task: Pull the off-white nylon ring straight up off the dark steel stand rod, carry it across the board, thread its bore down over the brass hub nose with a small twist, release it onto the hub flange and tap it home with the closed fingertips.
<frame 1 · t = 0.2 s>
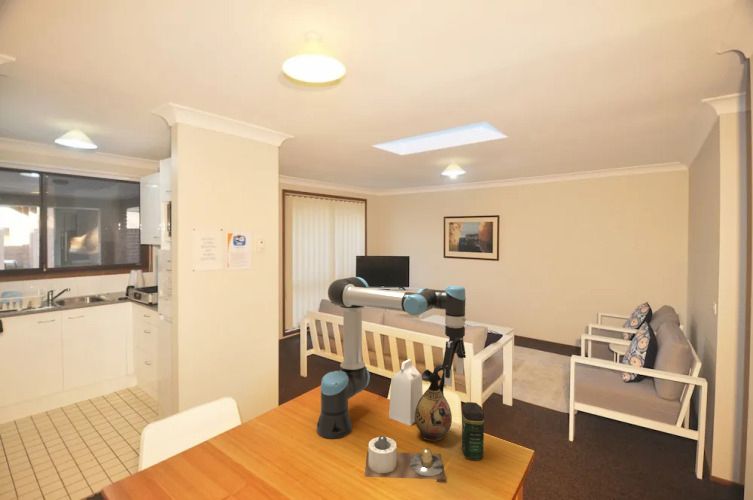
hand: (454, 379, 134), 28 cm above the table, fingers open, 13 cm apart
ceramic jug: (434, 435, 145), on the table
board: (404, 467, 124), on the table
hub: (426, 468, 124), resting on board
ring: (382, 463, 124), point 1 cm above the table, touching board
stand rod: (382, 466, 124), resting on board
coffee jar: (472, 453, 133), on the table
milk: (406, 416, 160), on the table
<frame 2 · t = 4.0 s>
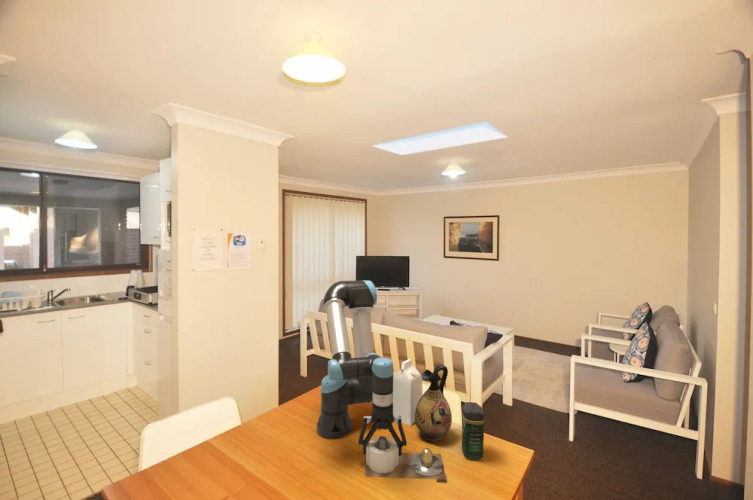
hand: (382, 463, 124), 1 cm above the table, fingers closed on ring, 10 cm apart
ring: (382, 463, 124), point 1 cm above the table, touching board, gripper
everything else where it was.
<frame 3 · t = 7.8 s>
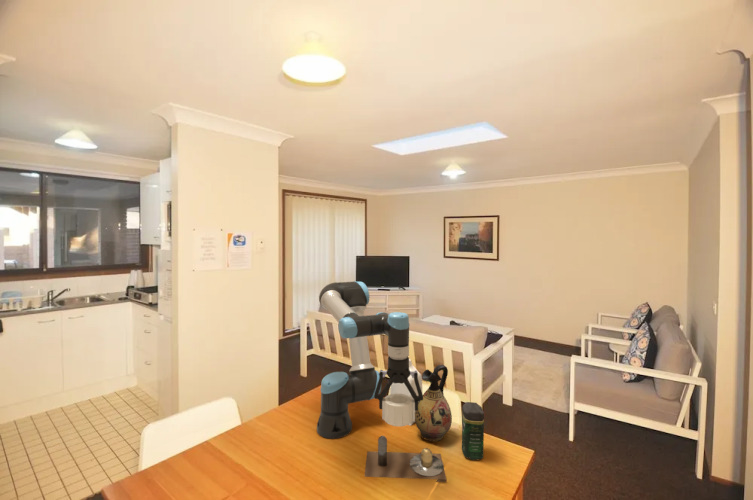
hand: (398, 418, 123), 18 cm above the table, fingers closed on ring, 10 cm apart
ring: (398, 418, 123), point 18 cm above the table, touching gripper
everything else where it was.
when the fingers open (3 cm above the table, at t = 11.8 s): ring drops 1 cm, resting on hub.
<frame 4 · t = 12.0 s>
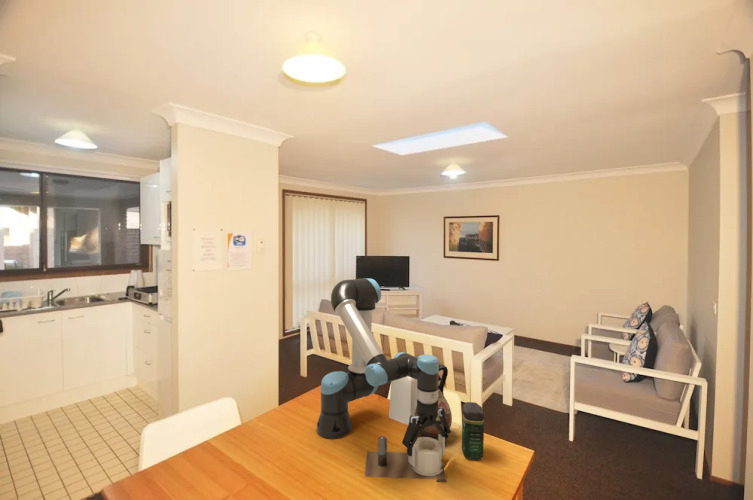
hand: (426, 458, 124), 4 cm above the table, fingers open, 12 cm apart
ring: (426, 464, 124), point 1 cm above the table, touching hub
everything else where it was.
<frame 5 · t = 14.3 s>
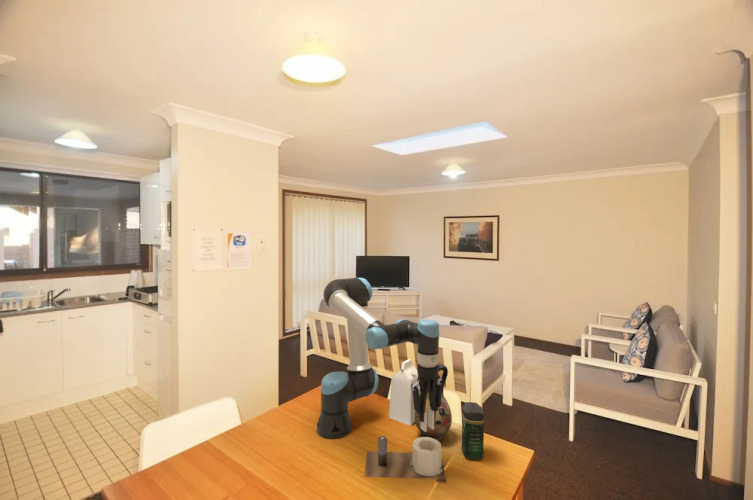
hand: (427, 428, 123), 15 cm above the table, fingers open, 3 cm apart
nothing on the table moved.
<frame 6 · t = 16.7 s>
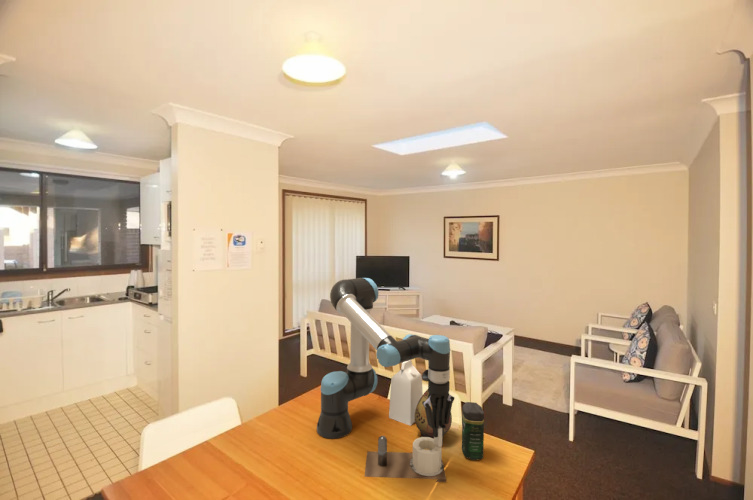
hand: (438, 444, 123), 9 cm above the table, fingers closed
nothing on the table moved.
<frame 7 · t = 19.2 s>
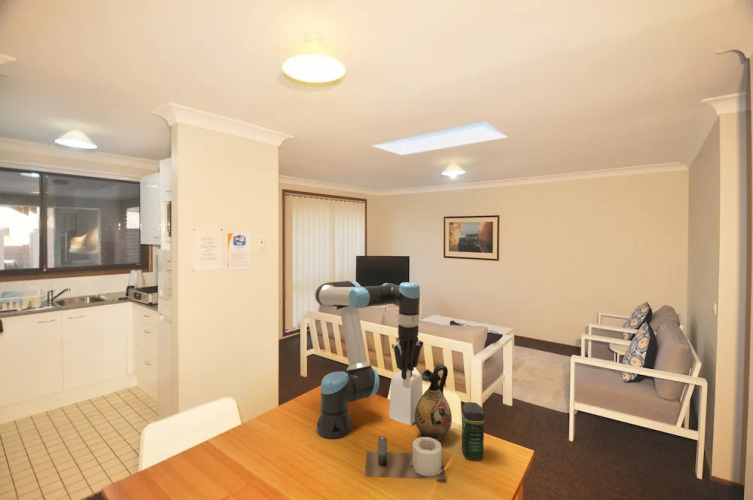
hand: (406, 386, 128), 27 cm above the table, fingers closed
nothing on the table moved.
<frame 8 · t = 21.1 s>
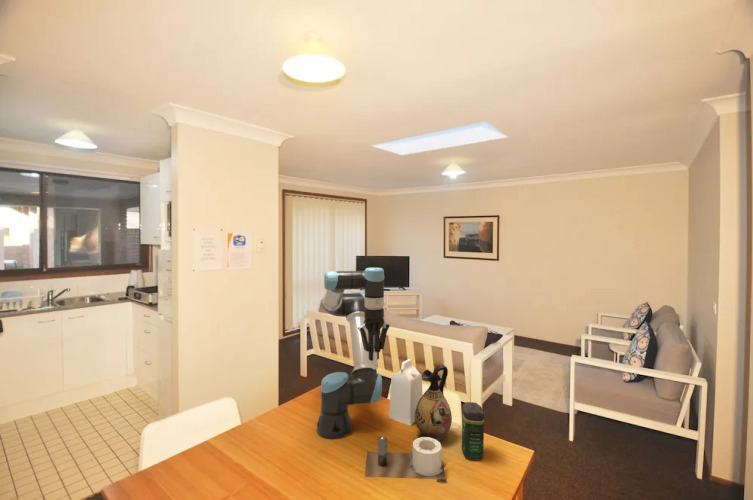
hand: (373, 368, 133), 32 cm above the table, fingers closed
nothing on the table moved.
at the end: ring 0.1 cm off-centre on the hub, point 1.4 cm above the hub's base; ring tilted 0°; the gripper is holding nothing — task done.
